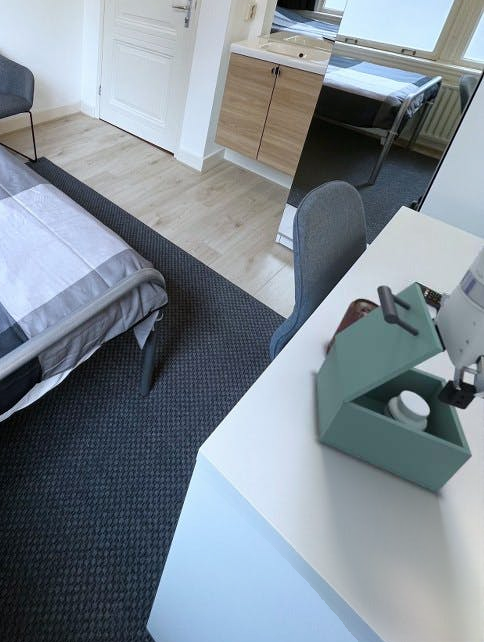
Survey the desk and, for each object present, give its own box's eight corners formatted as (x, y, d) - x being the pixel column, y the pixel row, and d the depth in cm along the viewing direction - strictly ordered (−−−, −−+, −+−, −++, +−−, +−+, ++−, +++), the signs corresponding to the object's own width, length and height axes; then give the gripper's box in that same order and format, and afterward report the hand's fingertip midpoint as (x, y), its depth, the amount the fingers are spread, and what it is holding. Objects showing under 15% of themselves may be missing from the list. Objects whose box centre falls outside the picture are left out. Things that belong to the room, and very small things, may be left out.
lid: (419, 285, 65) (386, 264, 66) (443, 351, 55) (404, 325, 56) (338, 338, 75) (310, 319, 76) (346, 403, 64) (313, 380, 65)
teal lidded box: (416, 416, 75) (445, 378, 70) (436, 493, 65) (472, 456, 60) (315, 376, 80) (335, 338, 75) (319, 441, 70) (343, 403, 65)
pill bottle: (407, 426, 72) (431, 396, 68) (413, 457, 68) (439, 427, 64) (372, 412, 74) (393, 381, 70) (376, 441, 70) (399, 410, 66)
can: (324, 361, 83) (350, 313, 77) (328, 339, 88) (353, 291, 81) (358, 379, 80) (389, 330, 74) (361, 355, 85) (389, 307, 78)
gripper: (570, 359, 47) (493, 442, 55) (506, 259, 61) (452, 337, 69) (488, 333, 49) (426, 417, 57) (445, 243, 64) (399, 320, 72)
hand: (440, 373), depth 63 cm, fingers open, 9 cm apart
